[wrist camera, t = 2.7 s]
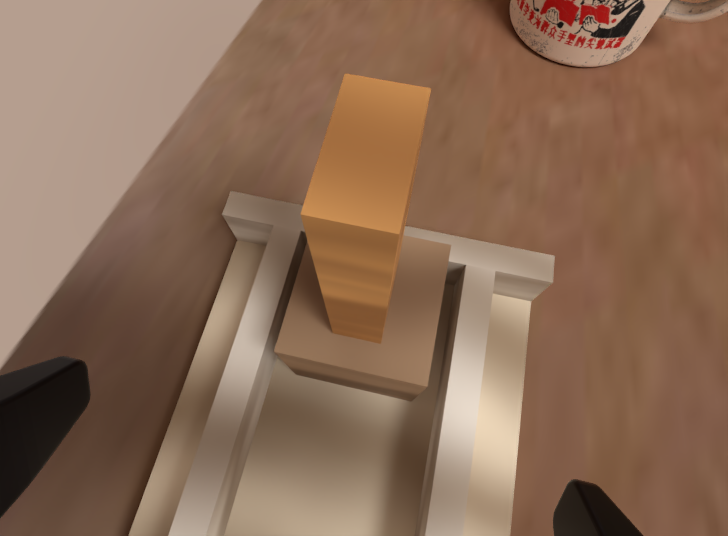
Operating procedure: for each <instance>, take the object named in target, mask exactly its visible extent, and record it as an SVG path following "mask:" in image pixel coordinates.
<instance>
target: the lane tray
mask: <svg viewBox="0 0 728 536" xmlns="http://www.w3.org/2000/svg"><path fill="white" fill-rule="evenodd" d="M302 208H303V205H299V204H294V203H289V202H284V201H279V200H274V199H269V198H264V197H259V196H254V195H249V194H244V193H239V192H234V191H231V192H230V195H229V198H228V200H227V203H226V205H225V208H224V210H223V213H222V216H223V217H224V219H225V221H226V222H227V224H228V225H229V227H230V229H231V230H232V232H233V234H234V235H235V237H236V238H237V242H236V245H235V248H234V250H233V253H232V256H231V258H230V261H229V264H228V267H227V269H226V272H225V275H224V277H223V280H222V283H221V286H220V288H219V291H218V294H217V296H216V299H215V302H214V305H213V307H212V310H211V313H210V315H209V318H208V321H207V324H206V326H205V329H204V332H203V334H202V337H201V340H200V343H199V345H198V348H197V351H196V353H195V356H194V359H193V362H192V364H191V367H190V370H189V372H188V375H187V378H186V381H185V383H184V386H183V389H182V391H181V394H180V397H179V400H178V402H177V405H176V408H175V410H174V413H173V416H172V419H171V421H170V424H169V427H168V430H167V432H166V435H165V438H164V440H163V443H162V446H161V449H160V451H159V454H158V457H157V459H156V462H155V465H154V468H153V470H152V473H151V476H150V478H149V481H148V484H147V487H146V489H145V492H144V495H143V497H142V500H141V503H140V506H139V508H138V511H137V514H136V516H135V519H134V522H133V525H132V527H131V530H130V533H129V535H128V536H510V530H511V519H512V508H513V497H514V486H515V474H516V463H517V452H518V441H519V430H520V418H521V407H522V396H523V385H524V374H525V363H526V351H527V340H528V329H529V318H530V307H531V301H532V300H533V299H534V298H536V297H537V296H538V295H539V294H540V293H541V292H543V291H544V290H545V289H546V288H547V287H548V286H549V285H551V284H552V283H553V273H554V259H555V256H553V255H548V254H543V253H538V252H533V251H528V250H523V249H518V248H513V247H508V246H503V245H498V244H493V243H488V242H483V241H478V240H473V239H468V238H463V237H458V236H453V235H448V234H443V233H438V232H433V231H428V230H423V229H418V228H413V227H408V226H405V230H404V235H405V236H410V237H415V238H419V239H424V240H429V241H434V242H439V243H444V244H449V245H451V250H450V256H449V262H448V268H447V274H446V280H445V285H444V291H443V297H442V303H441V309H440V315H439V321H438V327H437V333H436V339H435V345H434V351H433V357H432V363H431V369H430V375H429V381H428V387H427V388H426V389H425V390H424V391H422V392H421V393H420V394H419V395H418V396H417V397H416V398H415V399H414V400H413V401H412V402H411V401H406V400H402V399H398V398H394V397H389V396H385V395H381V394H376V393H372V392H368V391H364V390H359V389H355V388H351V387H346V386H342V385H338V384H334V383H329V382H325V381H321V380H316V379H312V378H308V377H304V376H299V375H296V374H295V373H294V372H293V371H292V370H291V369H290V368H289V367H288V366H287V365H286V364H285V363H284V362H283V361H282V360H281V359H280V357H279V356H278V355H277V354H276V353H275V352H274V350H275V346H276V343H277V340H278V336H279V333H280V330H281V326H282V323H283V320H284V317H285V313H286V310H287V307H288V303H289V300H290V297H291V293H292V290H293V287H294V283H295V280H296V277H297V274H298V270H299V267H300V264H301V260H302V257H303V254H304V250H305V247H306V244H307V241H308V240H307V237H306V233H305V229H304V226H303V222H302V218H301V215H300V214H301V211H302Z"/></svg>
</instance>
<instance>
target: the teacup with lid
mask: <svg viewBox="0 0 728 536" xmlns="http://www.w3.org/2000/svg"><path fill="white" fill-rule="evenodd" d="M727 11H728V0H710V1H707V2H702V3H688V2H682V1H679V0H511V2H510V18H511V22H512V25H513V27H514V29H515V31H516V33H517V34H518V35H519V37H520V38H521V39H522V41H523V42H524V43H525V44H526V45H527V46H529V47H530V48H531V49H532V50H534V51H535V52H537V53H538V54H540V55H542V56H544V57H546V58H548V59H550V60H552V61H555V62H558V63H561V64H565V65H570V66H576V67H598V66H604V65H608V64H612V63H615V62H617V61H620V60H622V59H623V58H625V57H627V56H628V55H630V54H631V53H632V52H633V51H635V50H636V48H637V47H638V46H639V45H640V44H641V42H642V41H643V39H644V38H645V36H646V35H647V34H648V32H649V31H650V29H651V28H652V26H653V25H654V23H655V22H656V21H657V19H658V18H663V19H666V20H670V21H673V22H678V23H698V22H703V21H707V20H710V19H713V18H715V17H718V16H720V15H722V14H724V13H726V12H727Z"/></svg>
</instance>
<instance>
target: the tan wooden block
mask: <svg viewBox="0 0 728 536" xmlns="http://www.w3.org/2000/svg"><path fill="white" fill-rule="evenodd" d="M430 92H431V88H426V87H420V86H414V85H408V84H403V83H397V82H391V81H385V80H380V79H374V78H368V77H363V76H357V75H351V74H345V75H344V78H343V81H342V85H341V88H340V91H339V94H338V97H337V100H336V104H335V107H334V110H333V113H332V116H331V119H330V122H329V126H328V129H327V132H326V135H325V138H324V141H323V145H322V148H321V151H320V154H319V157H318V160H317V163H316V167H315V170H314V173H313V176H312V179H311V182H310V186H309V189H308V192H307V195H306V198H305V201H304V205H303V208H302V211H301V214H300V215H301V218H302V222H303V226H304V229H305V233H306V237H307V240H308V241H307V244H306V247H305V250H304V254H303V257H302V260H301V264H300V267H299V270H298V274H297V277H296V280H295V283H294V287H293V290H292V293H291V297H290V300H289V303H288V307H287V310H286V313H285V317H284V320H283V323H282V326H281V330H280V333H279V336H278V340H277V343H276V346H275V350H274V352H275V353H276V354H277V355H278V356H279V357H280V359H281V360H282V361H283V362H284V363H285V364H286V365H287V366H288V367H289V368H290V369H291V370H292V371H293V372H294V373H295V374H296V375H299V376H304V377H308V378H312V379H316V380H321V381H325V382H329V383H334V384H338V385H342V386H346V387H351V388H355V389H359V390H364V391H368V392H372V393H376V394H381V395H385V396H389V397H394V398H398V399H402V400H406V401H411V402H412V401H413V400H414V399H415V398H416V397H417V396H418V395H419V394H420V393H421V392H422V391H424V390H425V389H426V388H427V387H428V381H429V375H430V369H431V363H432V357H433V351H434V345H435V339H436V333H437V327H438V321H439V315H440V309H441V303H442V297H443V291H444V285H445V280H446V274H447V268H448V262H449V256H450V250H451V245H449V244H444V243H439V242H434V241H429V240H424V239H419V238H415V237H410V236H405V235H404V230H405V224H406V219H407V214H408V208H409V203H410V198H411V193H412V187H413V182H414V177H415V172H416V166H417V161H418V156H419V150H420V145H421V140H422V135H423V129H424V124H425V119H426V113H427V108H428V103H429V98H430Z"/></svg>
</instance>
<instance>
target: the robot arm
mask: <svg viewBox="0 0 728 536" xmlns="http://www.w3.org/2000/svg"><path fill="white" fill-rule="evenodd" d="M89 400H90V386H89V378H88V370H87V365H86V364H85V362H84V361H82V360H79V359H75V358H70V357H65V356H62V357H57V358H54V359H51V360H48V361H45V362H42V363H39V364H35V365H32V366H29V367H26V368H23V369H20V370H17V371H14V372H11V373H7V374H4V375H1V376H0V518H1V517H2V516H3V515H4V513H5V512H6V511H7V510H8V509H9V508H10V507H11V505H12V504H13V503H14V502H15V501H16V500H17V499H18V497H19V496H20V495H21V494H22V493H23V492H24V490H25V489H26V488H27V487H28V486H29V484H30V483H31V482H32V481H33V479H34V478H35V477H36V476H37V474H38V473H39V472H40V470H41V469H42V468H43V466H44V465H45V464H46V462H47V461H48V460H49V458H50V457H51V455H52V454H53V453H54V451H55V450H56V449H57V447H58V446H59V444H60V443H61V442H62V440H63V439H64V438H65V436H66V435H67V433H68V432H69V431H70V429H71V428H72V427H73V425H74V424H75V422H76V421H77V420H78V418H79V417H80V416H81V414H82V413H83V411H84V410H85V409H86V407H87V405H88V403H89ZM553 529H554V536H643V535H642V534H641V532H640V531H639V530H638V529H637V528H636V527H635V526H634V525H633V524H632V522H631V521H630V520H629V519H628V518H627V517H626V516H625V515H624V514H623V512H622V511H621V510H620V509H619V508H618V507H617V506H616V505H615V504H614V502H613V501H612V500H611V499H610V498H609V497H608V496H607V495H606V494H605V492H604V491H603V490H602V489H601V488H600V487H599V486H597V485H596V484H593V483H589V482H585V481H581V480H577V479H573V480H571V481H569V483H568V484H567V486H566V488H565V490H564V492H563V494H562V496H561V498H560V500H559V502H558V505H557V507H556V509H555V511H554V516H553Z"/></svg>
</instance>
